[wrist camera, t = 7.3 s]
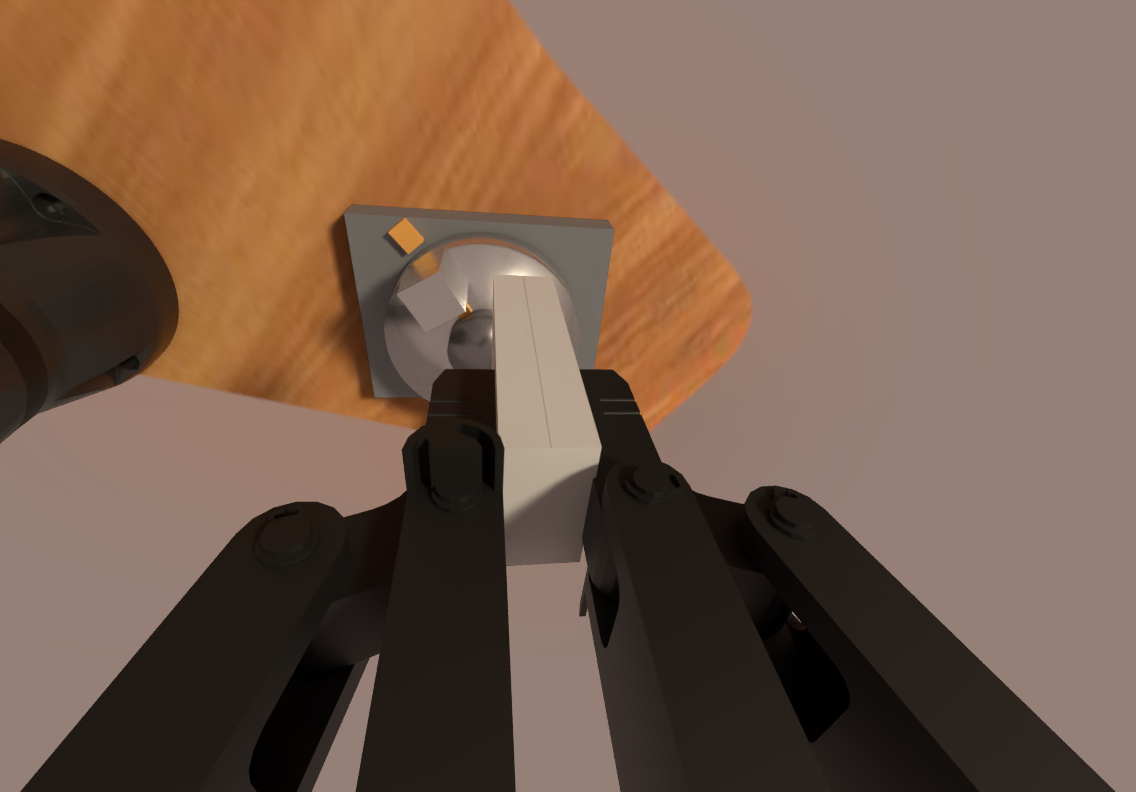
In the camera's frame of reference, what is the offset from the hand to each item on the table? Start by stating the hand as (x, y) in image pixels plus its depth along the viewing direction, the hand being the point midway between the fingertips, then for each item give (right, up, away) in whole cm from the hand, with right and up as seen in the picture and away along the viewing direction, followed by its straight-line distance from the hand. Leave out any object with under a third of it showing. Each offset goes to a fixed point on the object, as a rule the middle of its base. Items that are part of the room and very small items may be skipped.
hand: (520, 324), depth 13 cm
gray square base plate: (-5, +4, +21) cm, 22 cm away
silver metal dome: (-4, +3, +20) cm, 20 cm away
